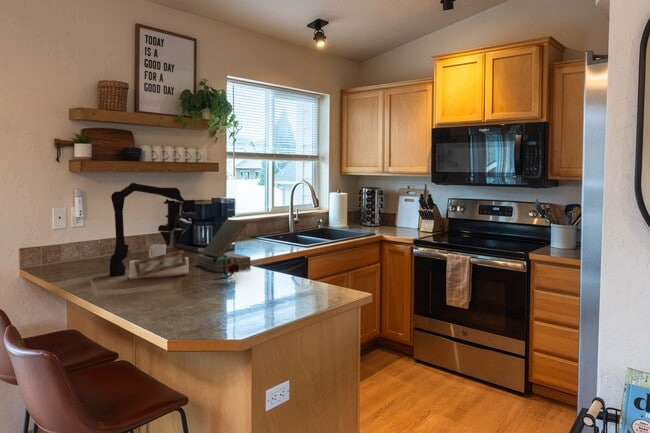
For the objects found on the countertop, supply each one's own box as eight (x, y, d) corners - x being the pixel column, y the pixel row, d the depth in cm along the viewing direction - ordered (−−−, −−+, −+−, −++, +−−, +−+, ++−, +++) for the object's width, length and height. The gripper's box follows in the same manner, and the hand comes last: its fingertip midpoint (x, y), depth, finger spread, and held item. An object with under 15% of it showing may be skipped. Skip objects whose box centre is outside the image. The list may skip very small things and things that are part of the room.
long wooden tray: (130, 279, 215) (130, 261, 214) (128, 277, 220) (128, 259, 220) (188, 274, 228) (188, 257, 228) (185, 272, 233) (185, 256, 233)
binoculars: (221, 274, 230) (221, 253, 229) (240, 275, 227) (240, 254, 226) (211, 277, 221) (211, 255, 221) (231, 278, 218) (231, 256, 218)
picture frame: (138, 277, 214) (135, 261, 213) (137, 276, 216) (134, 261, 215) (186, 265, 225) (183, 250, 224) (185, 264, 227) (182, 250, 226)
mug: (168, 267, 248) (168, 244, 248) (159, 269, 242) (159, 245, 242) (154, 266, 253) (153, 243, 252) (144, 268, 246) (144, 244, 246)
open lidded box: (197, 266, 254) (197, 219, 253) (231, 263, 266) (230, 218, 265) (216, 272, 236) (215, 222, 235) (251, 268, 248) (251, 220, 247)
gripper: (179, 214, 224) (178, 247, 224) (197, 213, 242) (197, 243, 242) (157, 213, 226) (157, 246, 226) (177, 212, 244) (177, 242, 245)
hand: (173, 244), depth 235 cm, fingers open, 9 cm apart
